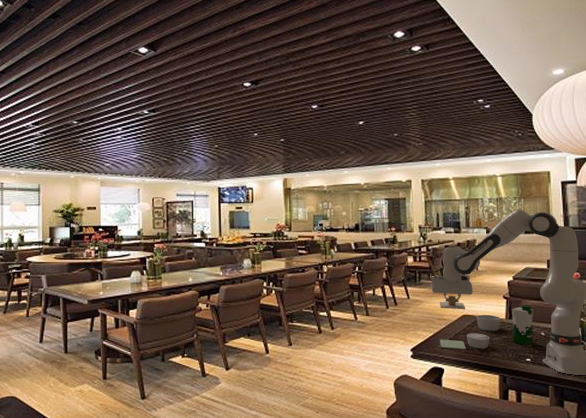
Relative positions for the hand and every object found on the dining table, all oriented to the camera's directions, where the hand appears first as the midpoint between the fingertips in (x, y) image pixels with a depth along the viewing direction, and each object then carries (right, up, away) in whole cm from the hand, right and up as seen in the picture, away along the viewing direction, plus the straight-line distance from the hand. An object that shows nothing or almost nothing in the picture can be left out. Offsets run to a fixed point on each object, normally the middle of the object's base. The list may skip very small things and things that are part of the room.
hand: (452, 302), depth 226 cm
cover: (0, -2, 0) cm, 2 cm away
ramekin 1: (+34, -23, +31) cm, 51 cm away
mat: (0, -23, 0) cm, 23 cm away
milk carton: (+39, -23, +3) cm, 46 cm away
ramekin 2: (+13, -23, -3) cm, 26 cm away
